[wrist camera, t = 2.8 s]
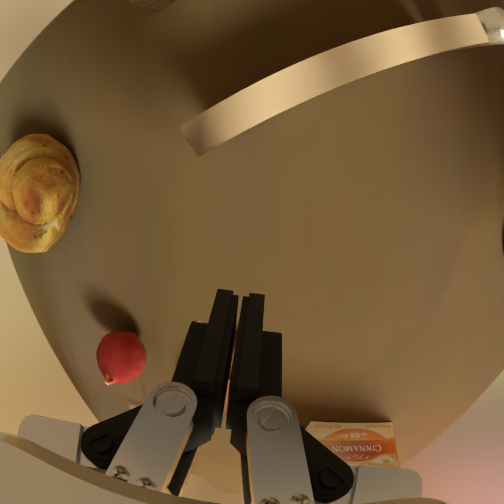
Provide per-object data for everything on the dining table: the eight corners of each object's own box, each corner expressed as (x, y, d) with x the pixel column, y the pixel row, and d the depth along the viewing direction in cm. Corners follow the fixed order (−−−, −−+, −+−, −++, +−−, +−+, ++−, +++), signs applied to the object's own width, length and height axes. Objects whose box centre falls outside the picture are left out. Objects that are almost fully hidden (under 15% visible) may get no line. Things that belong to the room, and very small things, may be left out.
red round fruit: (154, 356, 34) (133, 406, 27) (114, 341, 33) (88, 388, 26) (155, 325, 31) (129, 380, 24) (110, 309, 30) (78, 359, 23)
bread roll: (64, 256, 28) (22, 299, 21) (13, 206, 25) (-33, 237, 18) (107, 166, 22) (47, 197, 15) (44, 111, 20) (-18, 127, 13)
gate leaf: (424, 31, 14) (475, 13, 7) (435, 51, 14) (489, 41, 8) (212, 118, 19) (179, 127, 13) (224, 138, 20) (197, 157, 14)
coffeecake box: (393, 420, 38) (407, 522, 21) (373, 438, 42) (381, 530, 25) (310, 419, 38) (308, 536, 21) (297, 437, 42) (292, 539, 25)
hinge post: (456, 31, 13) (516, 19, 6) (455, 55, 14) (518, 50, 7) (432, 20, 13) (489, -1, 6) (431, 44, 14) (491, 31, 7)
